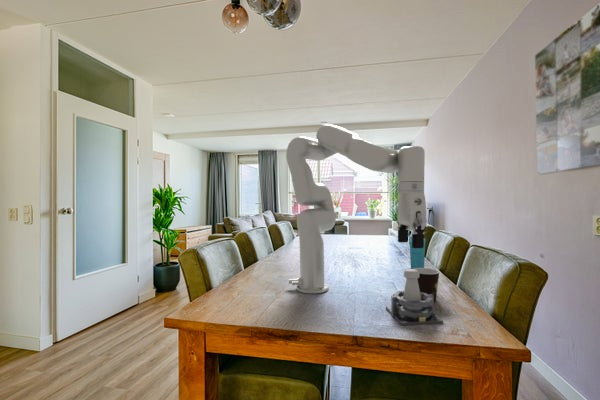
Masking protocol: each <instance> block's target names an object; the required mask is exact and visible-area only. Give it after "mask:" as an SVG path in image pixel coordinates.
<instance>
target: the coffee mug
mask: <svg viewBox="0 0 600 400" xmlns="http://www.w3.org/2000/svg"><path fill="white" fill-rule="evenodd" d="M414 269H415V270H417V271H418V272H419V278H418V279H417V280H418V285H419V290H420V292H423V293H426V294H432V295H434V303H436V301H437V296H438V295H437V294H438V287H439V277H440V271H439V270H437V269H434V268H427V267H424V268H414ZM421 299H422V301H425V300H424V299H423V298H421Z"/></svg>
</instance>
